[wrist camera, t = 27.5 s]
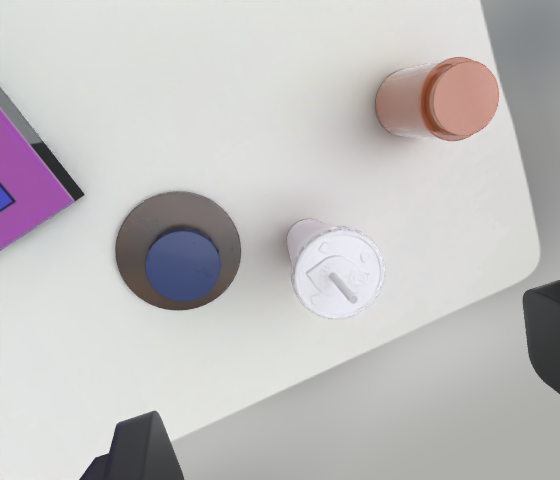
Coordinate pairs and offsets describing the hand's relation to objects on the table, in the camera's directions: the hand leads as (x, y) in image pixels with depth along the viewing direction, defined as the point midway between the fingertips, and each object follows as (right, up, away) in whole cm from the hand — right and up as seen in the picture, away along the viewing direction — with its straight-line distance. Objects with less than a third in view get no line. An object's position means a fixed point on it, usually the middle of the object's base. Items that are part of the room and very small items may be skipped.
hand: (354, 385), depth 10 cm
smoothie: (+1, +3, +31) cm, 31 cm away
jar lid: (-9, +1, +28) cm, 29 cm away
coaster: (-10, +2, +29) cm, 31 cm away
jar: (+9, +14, +29) cm, 34 cm away
